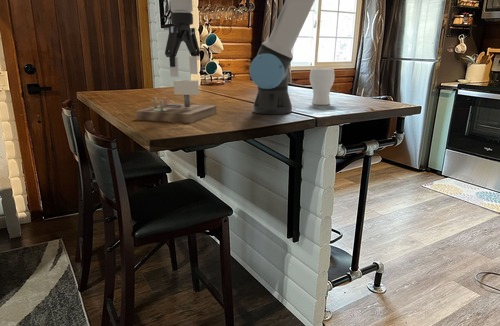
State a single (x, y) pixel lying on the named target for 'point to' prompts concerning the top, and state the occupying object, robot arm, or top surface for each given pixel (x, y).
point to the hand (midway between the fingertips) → (184, 75)
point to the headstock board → (176, 113)
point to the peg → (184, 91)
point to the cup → (321, 84)
